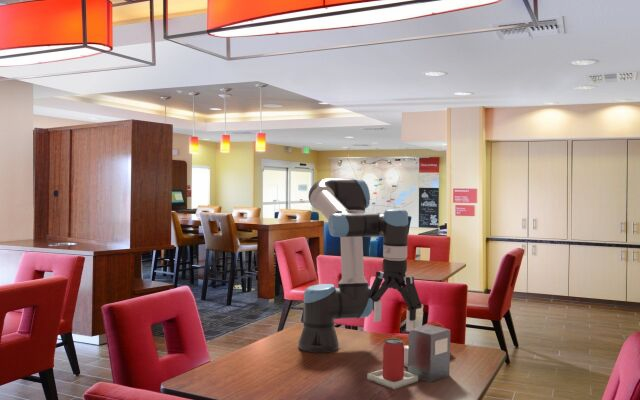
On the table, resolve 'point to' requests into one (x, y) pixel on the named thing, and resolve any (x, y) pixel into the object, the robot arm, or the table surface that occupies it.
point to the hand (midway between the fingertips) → (393, 325)
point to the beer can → (393, 360)
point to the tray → (379, 379)
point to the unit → (429, 352)
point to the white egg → (406, 356)
